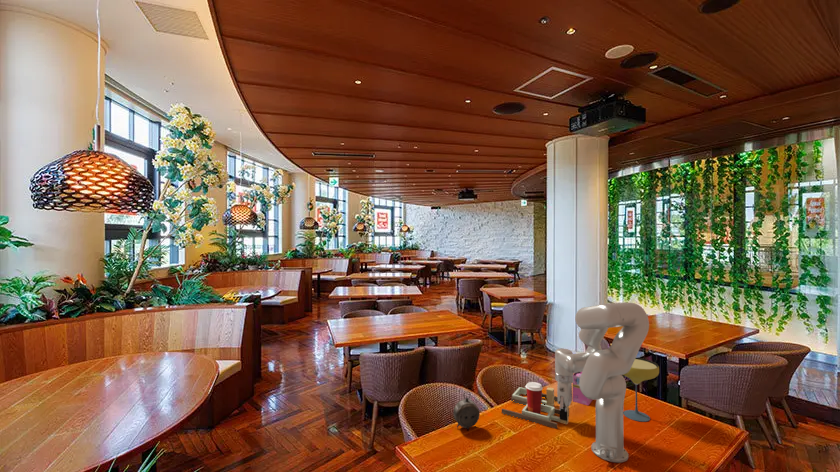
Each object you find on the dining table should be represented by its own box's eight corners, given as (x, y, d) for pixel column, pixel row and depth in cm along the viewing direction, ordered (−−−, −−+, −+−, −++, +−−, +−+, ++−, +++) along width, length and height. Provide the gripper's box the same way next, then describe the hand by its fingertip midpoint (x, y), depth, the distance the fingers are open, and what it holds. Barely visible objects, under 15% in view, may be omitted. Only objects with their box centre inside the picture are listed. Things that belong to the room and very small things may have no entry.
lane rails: (556, 428, 154) (556, 424, 154) (501, 413, 168) (501, 409, 168) (569, 403, 178) (569, 399, 179) (520, 392, 192) (520, 388, 192)
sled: (565, 428, 154) (565, 410, 154) (521, 417, 164) (521, 399, 164) (570, 417, 164) (570, 400, 164) (529, 407, 174) (529, 390, 174)
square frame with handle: (550, 410, 170) (550, 393, 171) (512, 400, 181) (512, 385, 181) (556, 401, 180) (556, 385, 181) (519, 392, 191) (519, 377, 191)
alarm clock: (476, 424, 158) (476, 387, 158) (481, 430, 153) (480, 392, 153) (453, 427, 155) (453, 390, 156) (456, 433, 150) (456, 395, 150)
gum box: (584, 386, 199) (584, 362, 200) (600, 390, 194) (599, 365, 195) (572, 401, 181) (572, 374, 181) (588, 406, 176) (588, 378, 176)
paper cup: (544, 413, 168) (544, 383, 168) (541, 420, 162) (540, 389, 162) (527, 409, 172) (527, 380, 172) (523, 415, 166) (523, 385, 166)
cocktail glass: (666, 428, 154) (665, 371, 155) (620, 422, 160) (619, 367, 160) (651, 409, 172) (651, 358, 172) (610, 405, 177) (610, 354, 177)
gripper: (569, 385, 151) (570, 428, 151) (575, 373, 165) (576, 412, 164) (551, 381, 155) (551, 423, 155) (559, 370, 169) (559, 408, 168)
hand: (564, 417), depth 160 cm, fingers closed on sled, 3 cm apart
